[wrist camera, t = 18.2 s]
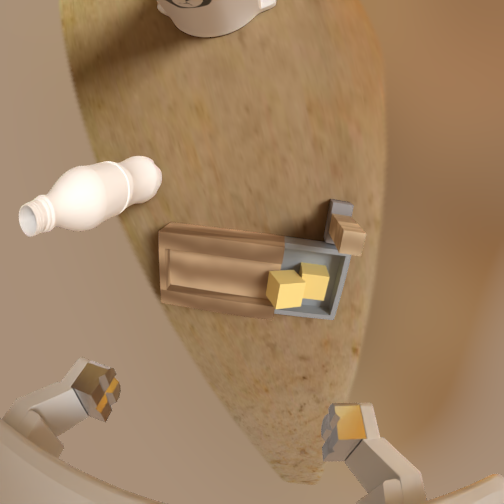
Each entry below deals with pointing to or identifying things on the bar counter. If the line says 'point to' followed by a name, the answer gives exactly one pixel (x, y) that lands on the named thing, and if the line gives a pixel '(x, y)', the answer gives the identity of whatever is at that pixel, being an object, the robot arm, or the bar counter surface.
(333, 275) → the tray
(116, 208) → the water bottle
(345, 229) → the wooden post on base
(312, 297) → the pale yellow cube
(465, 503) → the robot arm
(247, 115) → the bar counter surface
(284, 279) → the pale yellow block
